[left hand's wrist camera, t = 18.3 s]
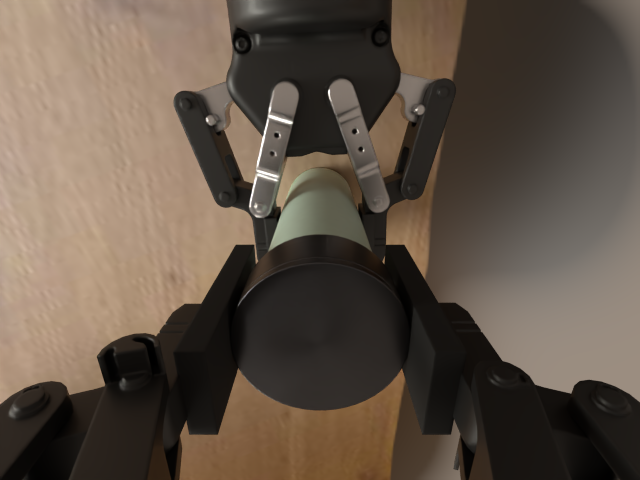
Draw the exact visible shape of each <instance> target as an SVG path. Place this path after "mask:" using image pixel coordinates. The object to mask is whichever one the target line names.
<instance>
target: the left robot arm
mask: <svg viewBox="0 0 640 480" xmlns="http://www.w3.org/2000/svg"><path fill="white" fill-rule="evenodd" d="M255 265H256V262H255V249H254V245H236V246H235V247H234V249H233V251H232V252H231V254H230V256H229V257H228V259H227V261H226V263H225V264H224V266H223V268H222V269H221V271H220V273H219V275H218V276H217V278H216V280H215V281H214V283H213V285H212V286H211V288H210V290H209V292H208V293H207V295H206V297H205V298H204V300H203V302H202V304H184V305H183V306H181V307H180V308H178V309H177V310H176V311H174V312H173V313H172V314H171V316H170V317H169V319H168V320H167V322H166V325H164V326H163V327H162V329H161V330H160V333H158V334H157V336H154V335H151V334H146V333H142V334H133V335H129V336H125V337H122V338H120V339H118V340H115V341H113V342H111V343H110V344H109V345H107V346H106V347H105V348H103V349H102V350H101V352H100V353H99V354H98V356H97V359H98V362H99V365H100V368H101V372H102V375H103V378H104V382H105V386H104V387H101V388H98V389H94V390H89V391H85V392H81V393H76V394H72V395H69V393H68V390H67V387H66V386H65V385H63V384H62V383H61V382H54V381H50V382H43V383H38V384H35V385H32V386H30V387H27V388H24V389H23V390H21V391H19V392H17V393H15V394H14V395H12V396H10V397H9V398H8V399H7V400H5V401H4V402H3V403H2V404H0V480H179V477H180V466H181V455H182V445H181V439H180V434H181V431H182V429H183V427H184V424H185V422H186V420H187V425H188V430H189V435H218V432H219V429H220V426H221V422H222V419H223V416H224V413H225V409H226V406H227V403H228V400H229V396H230V393H231V390H232V387H233V383H234V380H235V377H236V374H237V370H238V366H237V364H236V362H235V360H234V357H233V354H232V350H231V343H230V326H231V321H232V317H233V315H234V312H235V310H236V307H237V305H238V302H239V300H240V297H241V295H242V292H243V290H244V287H245V285H246V283H247V280H248V278H249V275H250V273H251V272H252V270H253V268H254V266H255ZM384 265H385V266H386V267H387V269H388V271H389V273H390V275H391V277H392V279H393V282H394V284H395V286H396V289H397V291H398V294H399V296H400V299H401V301H402V304H403V306H404V309H405V311H406V314H407V317H408V319H409V325H410V345H409V352H408V355H407V358H406V361H405V363H404V365H403V367H402V370H403V373H404V376H405V379H406V383H407V386H408V389H409V392H410V396H411V399H412V402H413V405H414V409H415V412H416V415H417V418H418V422H419V425H420V428H421V432H422V434H425V435H427V434H429V435H434V434H435V435H439V434H440V435H449V434H451V431H452V426H453V421H454V420H455V422H456V424H457V427H458V429H459V432H460V439H459V444H458V448H457V453H456V458H455V463H454V469H456V470H458V468H459V465H460V476H461V480H640V402H639V401H637V400H636V399H635V398H634V397H632V396H631V395H630V394H628V393H626V392H624V391H623V390H621V389H619V388H617V387H615V386H612V385H610V384H607V383H604V382H600V381H593V380H584V381H579V382H578V383H577V384H576V385H575V386H574V388H573V391H572V394H570V393H566V392H561V391H557V390H553V389H548V388H544V387H541V386H537V385H535V384H534V383H533V381H532V379H531V378H530V376H529V375H527V374H526V373H525V372H524V371H523V370H521V369H520V368H518V367H516V366H514V365H512V364H510V363H507V362H504V361H502V360H501V358H500V357H499V355H498V354H497V353H496V351H495V350H494V348H493V347H492V345H491V344H490V343H489V341H488V340H487V338H486V337H485V336H484V334H483V333H482V332H481V330H480V328H479V327H478V325H477V324H475V321H474V320H473V318H472V317H471V316H470V314H469V313H468V311H466V310H465V309H463V308H462V307H461V306H459V305H458V304H456V303H438V301H437V300H436V298H435V296H434V295H433V293H432V291H431V290H430V288H429V286H428V284H427V283H426V281H425V279H424V278H423V276H422V274H421V272H420V271H419V269H418V267H417V266H416V264H415V262H414V261H413V259H412V257H411V255H410V254H409V252H408V250H407V249H406V247H405V245H386V251H385V264H384Z"/></svg>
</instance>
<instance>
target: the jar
mask: <svg viewBox="0 0 640 480" xmlns="http://www.w3.org/2000/svg"><path fill="white" fill-rule="evenodd" d="M313 234H327V235H335V236H340V237H344V238H347V239H350V240H352V241H355V242H357V243H359V244H361V245H363V246H365V247H366V248H368V249H369V250H370V251H372V250H371V248H370V245H369V242H368V239H367V236H366V233H365V230H364V227H363V224H362V222H361V219H360V216H359V213H358V210H357V207H356V204H355V201H354V198H353V196H352V193H351V190H350V187H349V185H348V183H347V182H346V180H345V179H344V178H343V177H342V176H341V175H340V174H339V173H337V172H335V171H333V170H331V169H327V168H313V169H309V170H307V171H305V172H303V173H302V174H300V175H299V176H298V177H297V178H296V179H295V180H294V182H293V183H292V185H291V187H290V190H289V193H288V196H287V199H286V201H285V204H284V207H283V210H282V213H281V216H280V219H279V222H278V225H277V228H276V230H275V233H274V236H273V239H272V242H271V245H270V248H269V251H270V250H271V249H273V248H274V247H276V246H278V245H279V244H281V243H283V242H285V241H288V240H290V239H293V238H296V237H301V236H305V235H313ZM269 251H268V252H269Z"/></svg>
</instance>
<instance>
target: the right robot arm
mask: <svg viewBox="0 0 640 480" xmlns="http://www.w3.org/2000/svg"><path fill="white" fill-rule="evenodd" d="M227 7H228V15H229V23H230V31H231V39H232V48H233V54H232V61H231V65H230V68H229V70H228V73H227V78H226V82H224V83H221V84H218V85H215V86H212V87H209V88H206V89H204V90H201V91H198V92H193V91H181V92H179V93H177V94H176V96H175V98H174V107H175V110H176V112H177V114H178V117H179V119H180V121H181V124H182V126H183V128H184V131H185V133H186V135H187V137H188V140H189V142H190V144H191V147H192V149H193V151H194V153H195V156H196V158H197V160H198V163H199V165H200V167H201V170H202V172H203V174H204V176H205V179H206V181H207V183H208V186H209V188H210V190H211V193H212V195H213V197H214V199H215V201H216V203H217V204H218V205H219V206H221V207H225V208H228V207H231V206H232V207H236V208H239V209H242V210H245V211H246V212H248V213H249V214H250V216H251V217H252V220H253V227H254V235H255V243H256V250H257V259H258V261H259V260H260V259H261V258H262V257H263V256H264V255H265V254H266V253H267V252H268V251H269V248H270V245H271V242H272V239H273V236H274V233H275V230H276V228H277V225H278V222H279V219H280V216H281V207H276V198H277V194H278V190H279V186H280V182H281V179H282V175H283V171H284V168H285V165H286V161H287V157H296V156H304V155H307V154H310V153H313V152H322V153H327V154H331V155H338V154H348V156H349V159H350V162H351V164H352V167H353V170H354V172H355V175H356V178H357V181H358V183H359V186H360V189H361V191H362V203H361V204H358V213H359V216H360V219H361V222H362V224H363V227H364V230H365V233H366V236H367V239H368V242H369V245H370V248H371V250H372V252H373V253H374V254H375V255H376V256H377V257H378V258H379V259H380V260H381V261H383V259H384V257H385V251H386V218H387V212H388V210H389V208H390V207H391V206H392V205H393V204H395V203H397V202H400V201H402V200H405V199H408V200H415V199H417V198H419V197H420V196H421V195H422V193H423V191H424V188H425V185H426V182H427V179H428V176H429V173H430V170H431V167H432V164H433V161H434V158H435V155H436V152H437V149H438V146H439V143H440V140H441V137H442V133H443V130H444V127H445V124H446V121H447V118H448V115H449V112H450V109H451V106H452V103H453V100H454V97H455V93H456V87H455V84H454V83H453V82H452V81H451V80H450V79H446V78H443V79H434V80H430V79H426V78H421V77H417V76H413V75H409V74H405V73H401V71H400V67H399V64H398V62H397V60H396V58H395V56H394V53H393V49H392V44H391V17H392V0H227ZM394 94H396V95H397V96H398V97H399V98H400V100H401V115H402V117H403V118H404V119H405V120H407V121H409V122H408V126H407V129H406V133H405V136H404V140H403V143H402V147H401V150H400V153H399V157H398V160H397V164H396V167H395V171H394V174H392V175H390V176H387V177H385V178H382V175H381V172H380V168H379V163H378V160H377V157H376V154H375V151H374V148H373V145H372V142H371V139H370V136H369V133H368V132H369V131H370V130H371V128H372V127H373V125H374V124H375V122H376V121H377V119H378V118H379V116H380V115H381V113H382V112H383V110H384V109H385V107H386V106H387V105H388V103H389V102H390V100H391V99H392V97H393V96H394ZM234 102H235V103H236V105H237V106H238V107H239V108H240V109H241V111H242V112H243V113H244V114H245V116H246V117H247V118H248V119H249V120H250V122H251V123H252V124H253V125H254V126H255V128H256V129H257V130H258V131H259V132H260V134H261V135H262V136H263V140H262V145H261V149H260V153H259V158H258V162H257V167H256V176H255V181H254V184H252V183H249V182H246V181H244V180H243V177H242V175H241V172H240V170H239V167H238V164H237V162H236V159H235V157H234V154H233V152H232V149H231V147H230V144H229V142H228V139H227V137H226V134H225V131H224V130H225V129H227V128H228V127H229V125H230V122H231V118H230V113H229V111H230V107H231V105H232V104H233V103H234Z"/></svg>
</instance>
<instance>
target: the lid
mask: <svg viewBox="0 0 640 480" xmlns="http://www.w3.org/2000/svg"><path fill="white" fill-rule="evenodd" d="M230 343H231V350H232V354H233V357H234V360H235V362H236V364H237V366H238V368H239V370H240V371H241V373H242V374H243V376H244V377H245V378H246V379H247V380H248V382H249V383H251V384H252V385H253V386H254V387H255V388H256V389H257V390H259V391H260V392H261V393H263V394H264V395H266V396H268V397H269V398H271V399H273V400H275V401H277V402H280V403H282V404H285V405H288V406H291V407H295V408H300V409H307V410H334V409H340V408H345V407H349V406H352V405H356V404H358V403H361V402H363V401H365V400H367V399H369V398H371V397H373V396H375V395H376V394H377V393H379V392H380V391H382V390H383V389H384V388H385V387H387V386H388V385H389V384H390V383H391V382H392V381H393V379H394V378H395V377H396V376H397V375H398V373H399V372H400V370H401V369H402V367H403V365H404V363H405V361H406V358H407V355H408V352H409V345H410V325H409V319H408V317H407V314H406V311H405V309H404V306H403V304H402V301H401V299H400V296H399V294H398V291H397V289H396V286H395V284H394V282H393V279H392V277H391V275H390V273H389V271H388V269H387V267H386V266H385V265H384V263H383V262H382V261H381V260H380V259H379V258H378V257H377V256H376V255H375V254H374V253H373V252H372V251H370V250H369V249H368V248H366V247H365V246H363V245H361V244H359V243H357V242H355V241H352V240H350V239H347V238H344V237H340V236H335V235H327V234H313V235H305V236H301V237H296V238H293V239H290V240H288V241H285V242H283V243H281V244H279V245H278V246H276V247H274V248H273V249H271V250H270V251H269V252H267V253H266V254H265V255H264V256H263V257H262V258H261V259H260V260H259V261H258V263H257V264H256V265H255V266H254V268H253V270H252V272H251V273H250V275H249V278H248V280H247V283H246V285H245V287H244V290H243V292H242V295H241V297H240V300H239V302H238V305H237V307H236V310H235V312H234V315H233V317H232V321H231V326H230Z"/></svg>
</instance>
